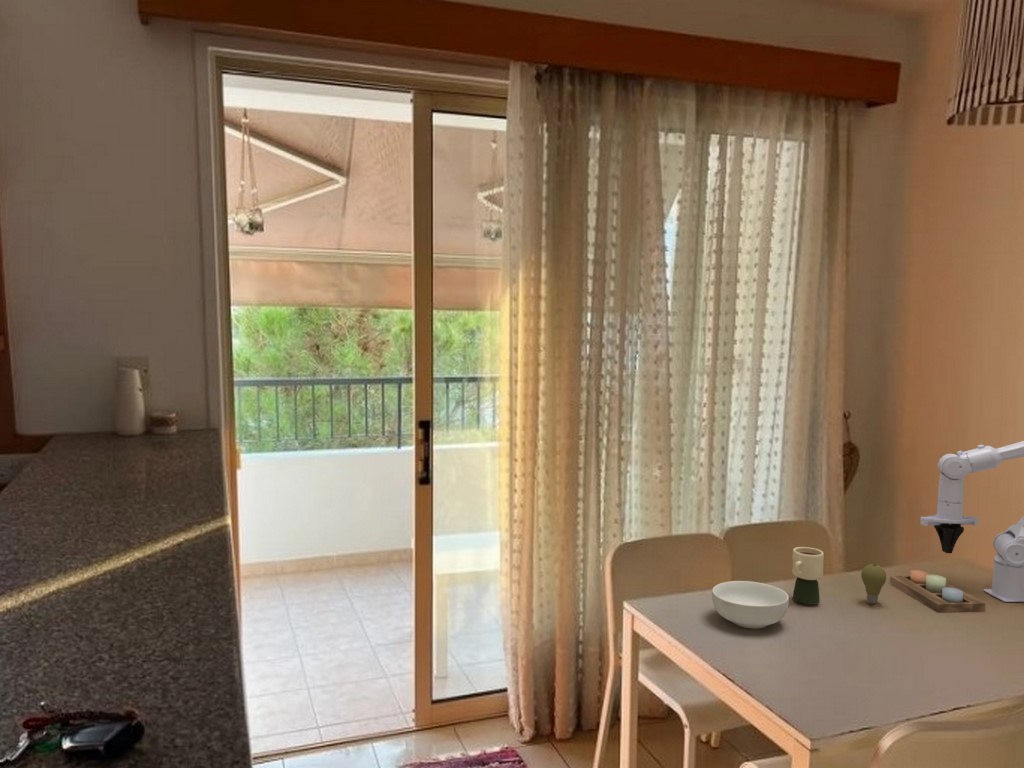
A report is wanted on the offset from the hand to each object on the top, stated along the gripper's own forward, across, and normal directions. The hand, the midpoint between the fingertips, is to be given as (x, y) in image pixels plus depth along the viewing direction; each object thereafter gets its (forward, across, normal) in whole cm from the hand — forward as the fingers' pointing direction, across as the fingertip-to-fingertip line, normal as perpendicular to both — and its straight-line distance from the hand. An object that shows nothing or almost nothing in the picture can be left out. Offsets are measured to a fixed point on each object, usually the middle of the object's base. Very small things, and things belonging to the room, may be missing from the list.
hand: (947, 552), depth 198 cm
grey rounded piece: (+9, +6, +11) cm, 16 cm away
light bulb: (+10, +25, +9) cm, 28 cm away
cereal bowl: (+10, +60, +18) cm, 63 cm away
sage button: (+8, +6, +5) cm, 11 cm away
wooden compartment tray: (+10, +6, +5) cm, 13 cm away
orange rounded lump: (+9, +6, -1) cm, 11 cm away
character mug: (+10, +41, +7) cm, 43 cm away
